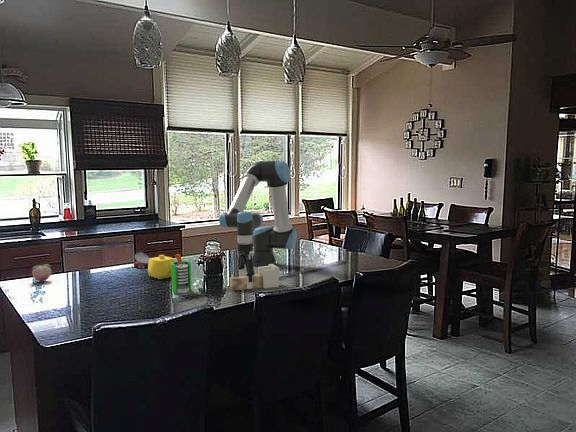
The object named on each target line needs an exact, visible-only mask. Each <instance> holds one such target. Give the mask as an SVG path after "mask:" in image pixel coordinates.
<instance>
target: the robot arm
mask: <svg viewBox="0 0 576 432" xmlns="http://www.w3.org/2000/svg"><path fill="white" fill-rule="evenodd" d="M290 179H291V170H290V167H289V165H288V163H287V162H286V161H282V160H267V161H265V160H261V161H257V162H254V163H253V164H251V165H250V166H249V167H248V168H247V169H246V170H245V172H244V173H243V175H242V177H241V180H242V181H241V183H240V185H239V187H238V189H237V191H236V193H235V196H234V197H233V199H232V201H231V204H230V206H229V207H228V209H227V212H222V213H220V214H219V219H218V222H219V225H220V227H222V228H232V229H233V228H234V229H235V228H236V229H237V234H236V235H237V236H236V239H237V251H238V260H237V261H238V262H237V268H238V275H239V276H238V277H240V276H247V289H246V290H251V289H254V288H253V275H255V269H254V267H257V268H258V267H263V266H269V264H274V265H276V264H277V260H276V257H275V253H274V249H278V250H279V249H280V250H281V249H282V250H284V249H285V250H292V249H294V247H296V246H295V245H296V243H297V239H298V232H297V229H294V227H293V225H292V224H291V222H290V215H289V209H288V208H289V207H288V199H287V197H288V196H287V192H286V191H287V189H286V186H287V185H288V182H289V181H290ZM260 182H262V183H263V182H266V185H267V187H268V188H269V189H270V195H271V203H272V210H273V211H272V212H273V218H274V226H271V225H265V226H262V225H263V224H264V218H263V216H262V215H261V214H260V213H258V212H256V213H255V212H254V213H252V212H251V211H245V208H246V207H247V204H248V202H249V201H250V197H251V195H252V194H253V191H254V190H255V187H257V186H259V183H260ZM252 251H253V254H250V252H252ZM276 266H277V265H276ZM245 270H246V273H247V274H245Z"/></svg>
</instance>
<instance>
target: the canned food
mask: <svg viewBox="0 0 576 432" xmlns="http://www.w3.org/2000/svg"><path fill="white" fill-rule="evenodd" d="M150 258H151V257H149V256H148V255H147V254H145V253H144V252H141V251H139V252H136V254H135V255H134V259H135V260H136V261H134V262H133V268H134V267H137V268H136V269H144V268H143V267H148V264H149V259H150Z"/></svg>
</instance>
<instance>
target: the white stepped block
mask: <svg viewBox="0 0 576 432" xmlns="http://www.w3.org/2000/svg"><path fill="white" fill-rule="evenodd" d="M260 274H263V287H262V288H263V289H269V288H270V289H271V288H278V287H280V267H279V266H277V265H274V264H269V266H263V267H257V275H260Z"/></svg>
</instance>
